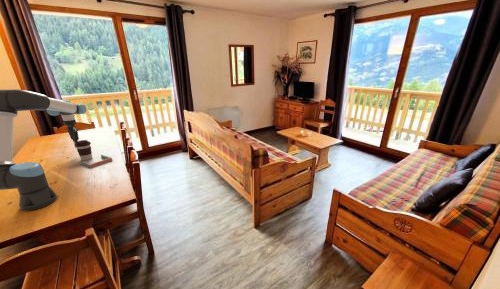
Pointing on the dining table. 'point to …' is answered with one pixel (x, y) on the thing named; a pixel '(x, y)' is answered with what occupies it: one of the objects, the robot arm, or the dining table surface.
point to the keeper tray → (107, 159)
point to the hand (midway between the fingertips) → (77, 147)
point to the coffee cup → (84, 149)
